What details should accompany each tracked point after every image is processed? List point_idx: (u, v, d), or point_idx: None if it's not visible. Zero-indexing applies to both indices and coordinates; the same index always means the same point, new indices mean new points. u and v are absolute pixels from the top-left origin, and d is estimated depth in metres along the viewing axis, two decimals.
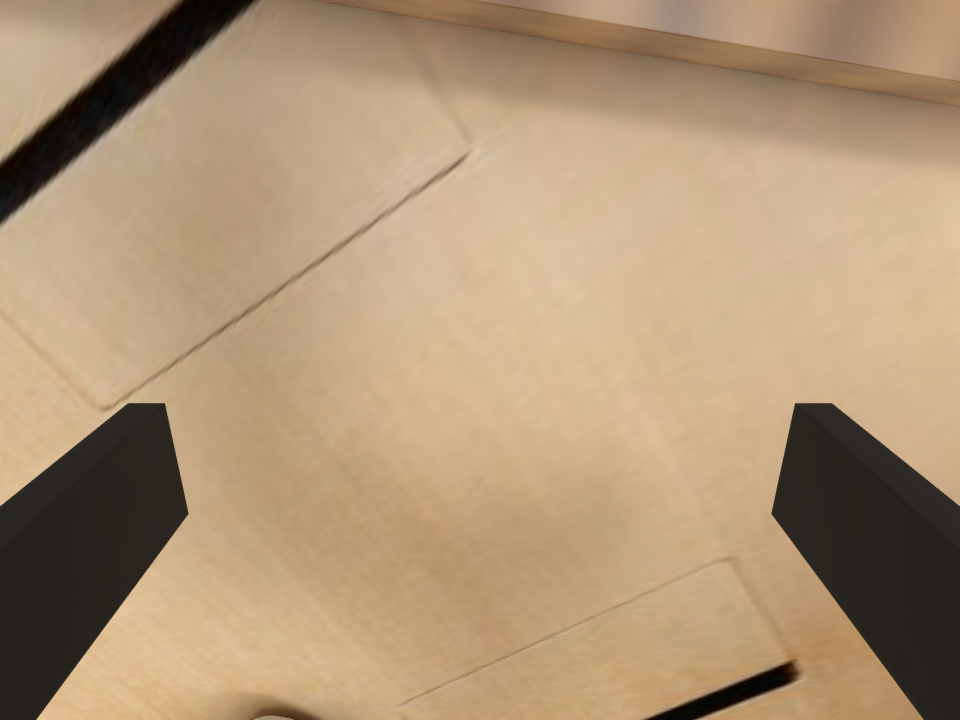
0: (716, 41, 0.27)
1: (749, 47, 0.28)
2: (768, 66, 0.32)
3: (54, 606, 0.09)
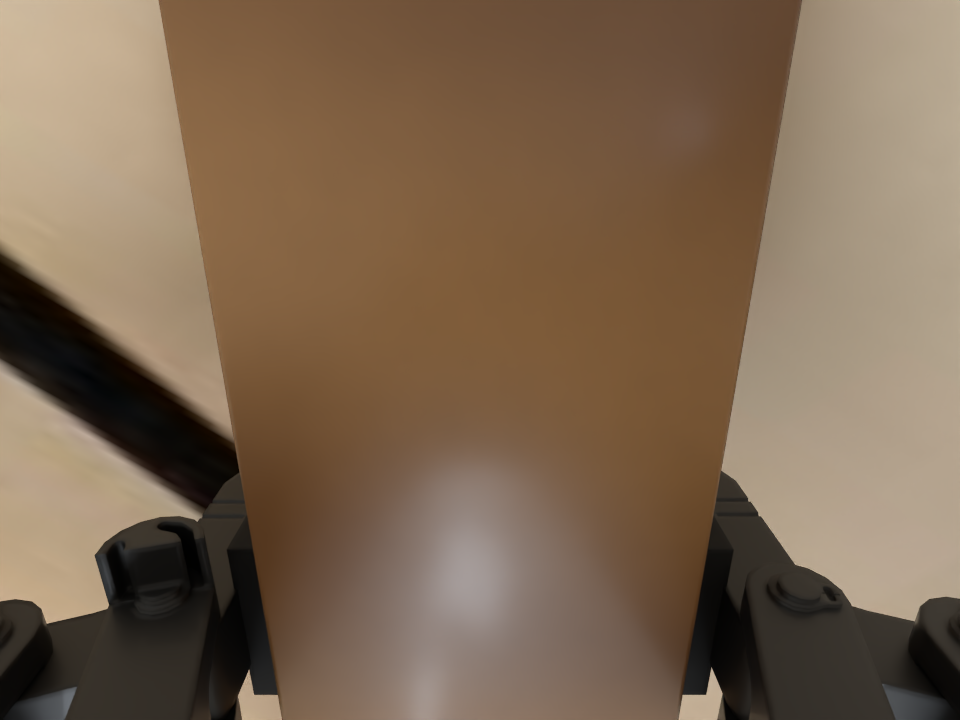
0: None
1: None
2: None
3: None
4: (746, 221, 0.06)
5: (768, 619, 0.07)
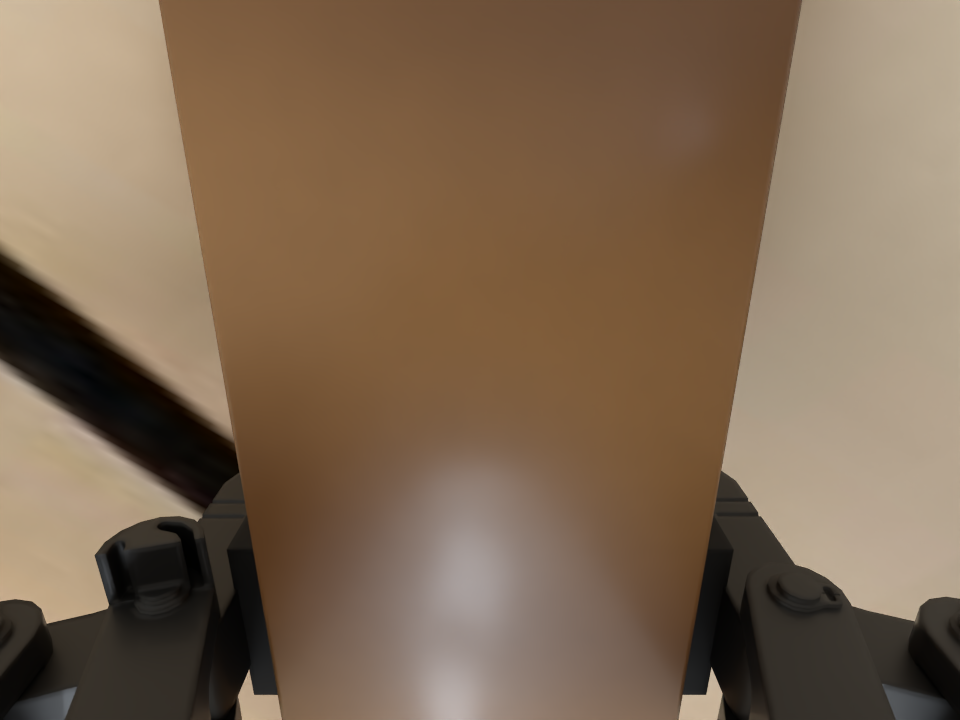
0: None
1: None
2: None
3: None
4: (747, 221, 0.06)
5: (769, 619, 0.07)
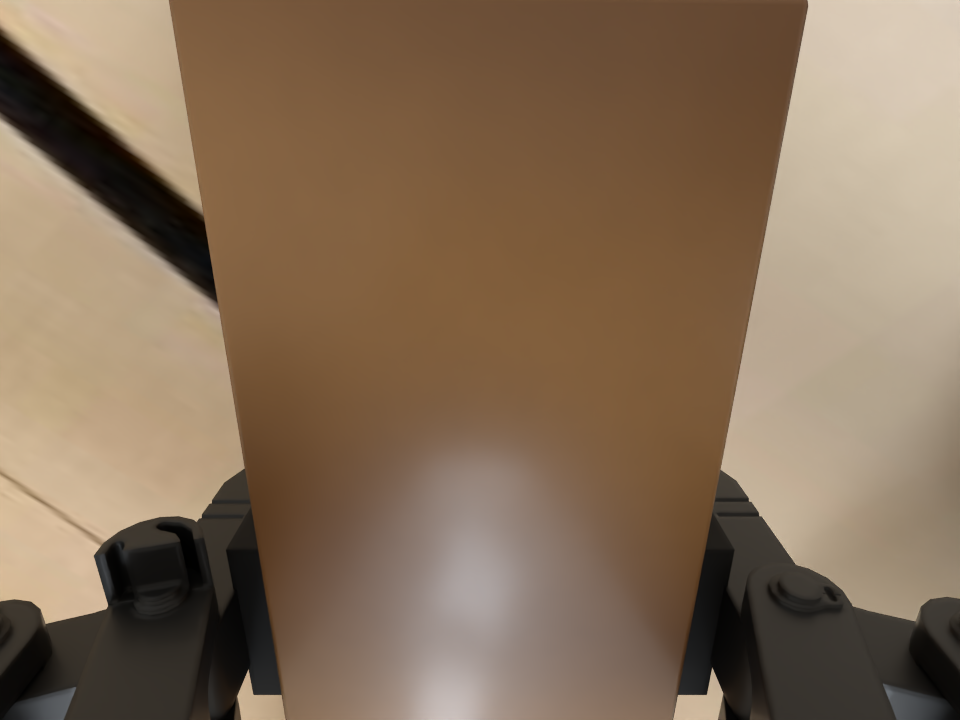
0: None
1: None
2: None
3: None
4: (749, 227, 0.06)
5: (769, 619, 0.07)
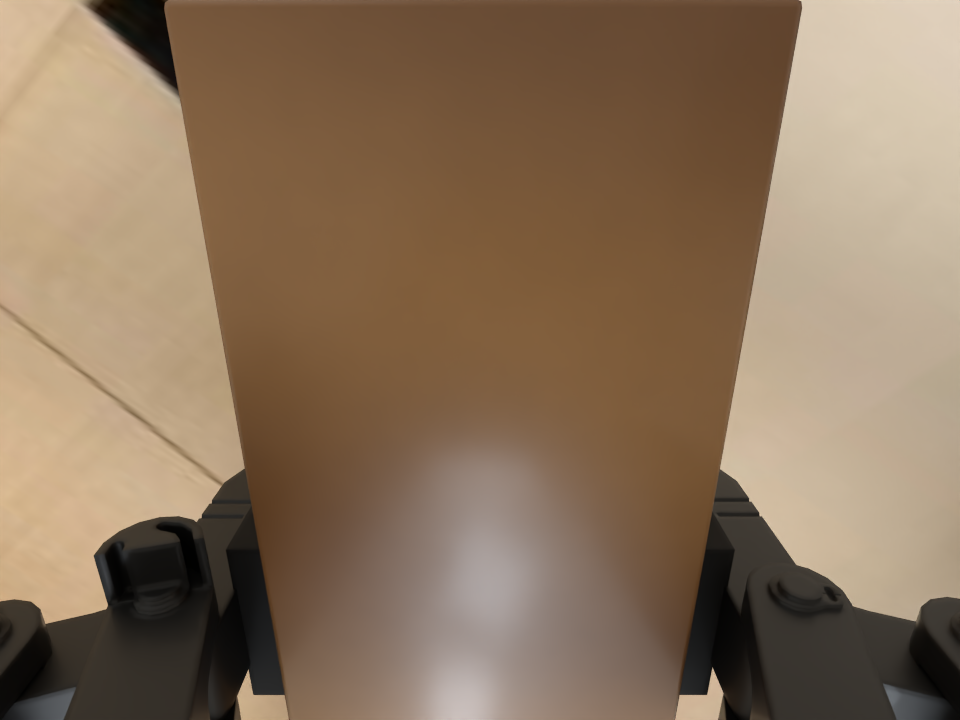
0: None
1: None
2: None
3: None
4: (746, 229, 0.06)
5: (769, 620, 0.07)
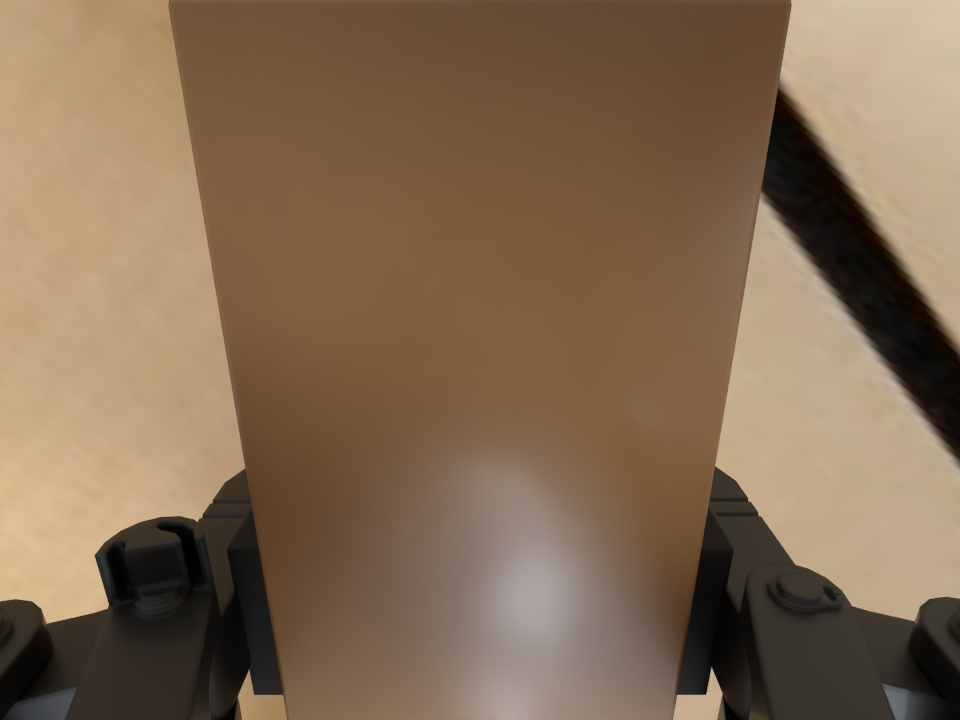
0: None
1: None
2: None
3: None
4: (739, 221, 0.06)
5: (769, 619, 0.07)
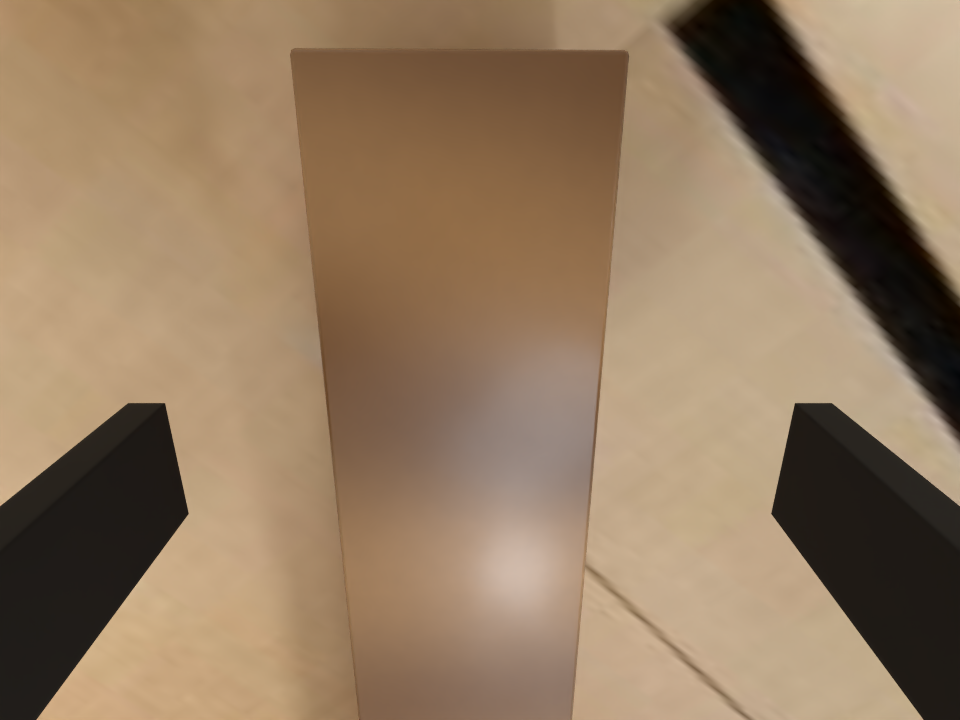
0: None
1: None
2: None
3: (55, 606, 0.09)
4: (608, 175, 0.10)
5: None
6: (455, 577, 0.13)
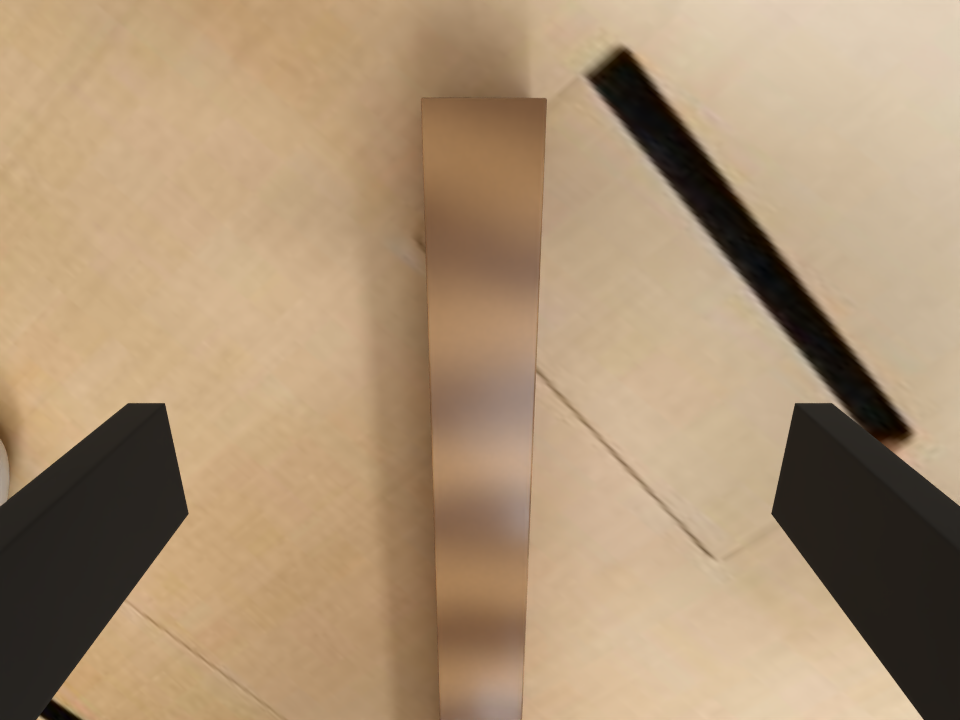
0: None
1: None
2: None
3: (55, 606, 0.09)
4: (540, 145, 0.26)
5: None
6: (478, 331, 0.29)
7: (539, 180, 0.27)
